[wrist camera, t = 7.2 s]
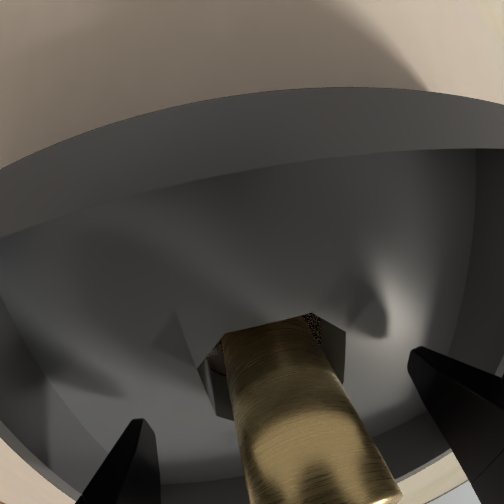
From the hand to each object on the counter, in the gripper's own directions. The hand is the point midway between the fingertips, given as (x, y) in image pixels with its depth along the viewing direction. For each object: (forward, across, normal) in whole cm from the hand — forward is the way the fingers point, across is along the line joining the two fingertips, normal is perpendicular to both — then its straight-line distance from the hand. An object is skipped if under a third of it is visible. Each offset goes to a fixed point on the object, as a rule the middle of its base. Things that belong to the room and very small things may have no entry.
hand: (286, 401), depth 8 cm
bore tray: (+4, 0, 0) cm, 4 cm away
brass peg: (+4, 0, 0) cm, 4 cm away
